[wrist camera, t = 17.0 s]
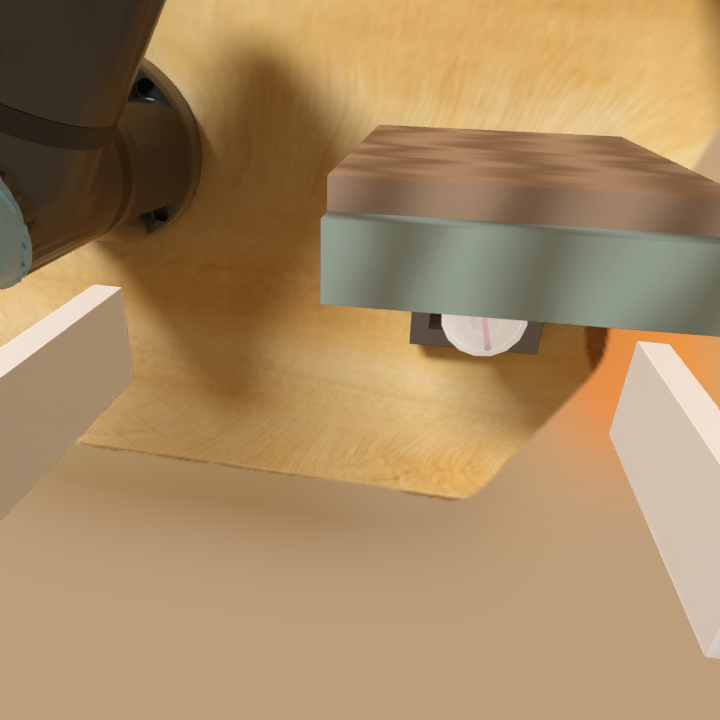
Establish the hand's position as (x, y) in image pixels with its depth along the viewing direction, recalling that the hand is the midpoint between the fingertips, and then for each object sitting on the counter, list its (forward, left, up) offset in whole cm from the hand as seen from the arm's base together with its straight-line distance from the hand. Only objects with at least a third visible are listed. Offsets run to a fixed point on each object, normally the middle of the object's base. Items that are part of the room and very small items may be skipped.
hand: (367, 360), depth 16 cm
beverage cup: (+5, -10, -36) cm, 37 cm away
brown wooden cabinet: (+5, -1, -35) cm, 36 cm away
